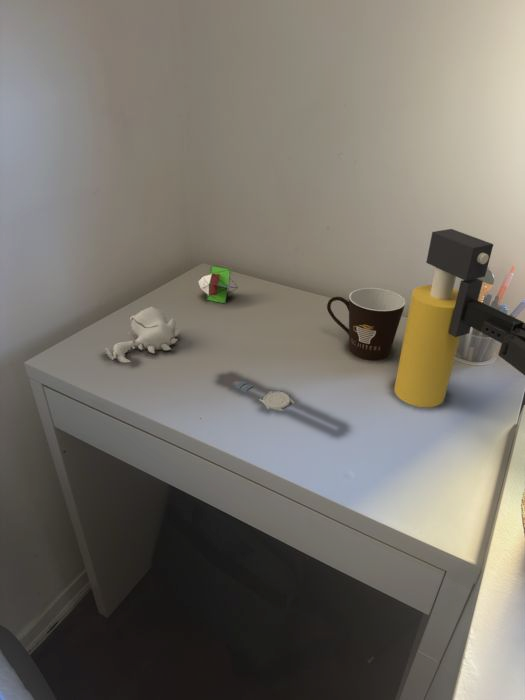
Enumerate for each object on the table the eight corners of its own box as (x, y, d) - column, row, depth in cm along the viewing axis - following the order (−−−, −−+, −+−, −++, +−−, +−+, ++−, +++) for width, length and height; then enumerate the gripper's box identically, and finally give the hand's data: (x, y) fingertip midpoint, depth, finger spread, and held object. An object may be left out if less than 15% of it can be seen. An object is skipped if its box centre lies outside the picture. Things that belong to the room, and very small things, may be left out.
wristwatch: (231, 374, 76) (231, 369, 75) (348, 426, 66) (349, 420, 65) (213, 387, 73) (213, 381, 72) (332, 443, 63) (333, 437, 62)
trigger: (461, 329, 64) (475, 277, 60) (469, 333, 63) (483, 281, 59) (448, 333, 63) (460, 280, 59) (455, 337, 62) (468, 284, 58)
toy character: (97, 347, 81) (160, 315, 87) (125, 385, 78) (188, 349, 84) (92, 326, 77) (159, 293, 82) (122, 365, 74) (189, 328, 79)
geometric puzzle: (215, 277, 104) (202, 255, 97) (245, 283, 101) (234, 260, 94) (202, 307, 101) (189, 286, 94) (233, 313, 99) (221, 292, 92)
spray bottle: (419, 379, 76) (453, 223, 64) (462, 410, 70) (509, 243, 57) (383, 390, 73) (411, 230, 61) (424, 423, 67) (465, 251, 55)
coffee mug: (406, 358, 81) (417, 302, 76) (368, 373, 77) (377, 316, 72) (356, 329, 90) (363, 278, 84) (320, 342, 85) (324, 288, 80)
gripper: (628, 477, 42) (424, 350, 59) (705, 431, 47) (497, 327, 65) (666, 405, 38) (436, 292, 56) (746, 364, 43) (513, 273, 61)
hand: (469, 311), depth 60 cm, fingers closed
